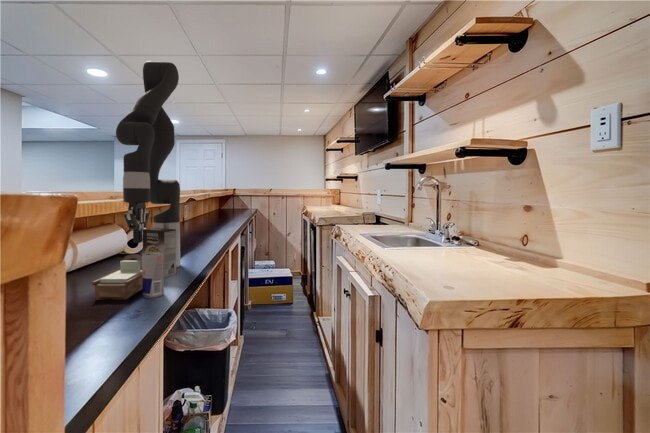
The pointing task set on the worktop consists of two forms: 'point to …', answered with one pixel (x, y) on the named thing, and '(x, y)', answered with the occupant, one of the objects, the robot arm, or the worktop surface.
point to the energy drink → (152, 274)
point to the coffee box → (162, 246)
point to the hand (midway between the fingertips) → (138, 242)
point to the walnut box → (117, 288)
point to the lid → (124, 272)
